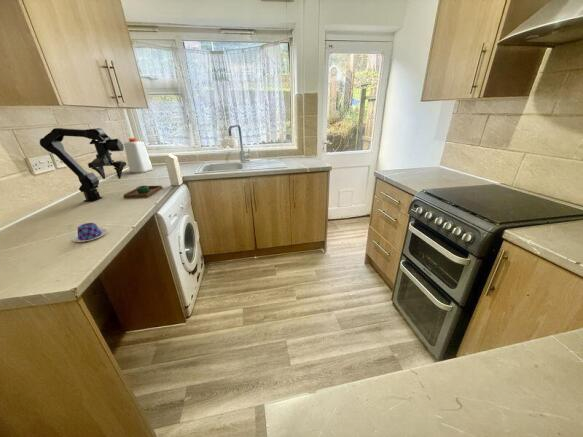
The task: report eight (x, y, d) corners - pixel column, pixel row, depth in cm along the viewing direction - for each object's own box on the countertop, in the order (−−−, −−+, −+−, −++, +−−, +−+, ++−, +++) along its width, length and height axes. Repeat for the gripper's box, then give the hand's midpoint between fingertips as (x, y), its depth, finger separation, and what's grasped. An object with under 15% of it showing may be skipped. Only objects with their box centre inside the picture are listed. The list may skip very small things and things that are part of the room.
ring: (136, 193, 154) (134, 188, 153) (141, 190, 160) (140, 185, 159) (146, 193, 154) (144, 188, 153) (151, 190, 160) (150, 185, 158)
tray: (124, 197, 149) (123, 194, 148) (141, 189, 166) (140, 186, 165) (147, 197, 149) (146, 194, 148) (162, 188, 166) (161, 185, 165)
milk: (171, 185, 172) (163, 153, 163) (174, 183, 177) (167, 152, 168) (179, 185, 172) (172, 153, 163) (183, 183, 177) (176, 152, 168)
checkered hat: (67, 246, 95) (62, 234, 93) (78, 233, 105) (73, 222, 103) (104, 239, 99) (99, 228, 97) (110, 228, 110) (106, 217, 107)
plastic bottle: (155, 169, 224) (146, 137, 213) (142, 173, 211) (133, 139, 199) (141, 168, 227) (132, 137, 216) (128, 172, 214) (117, 139, 203)
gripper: (75, 154, 131) (86, 182, 137) (109, 153, 131) (118, 182, 137) (91, 151, 141) (100, 177, 147) (122, 150, 141) (130, 177, 147)
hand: (112, 178), depth 144 cm, fingers open, 9 cm apart
